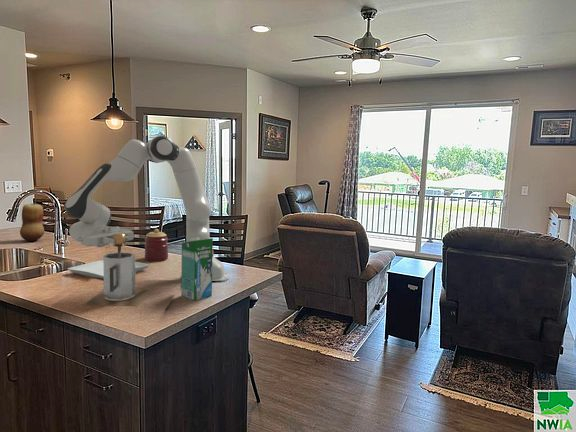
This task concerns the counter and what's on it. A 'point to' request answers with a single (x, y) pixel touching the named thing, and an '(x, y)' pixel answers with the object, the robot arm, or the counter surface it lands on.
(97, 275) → the square plate
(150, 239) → the canister
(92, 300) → the brown flat square board
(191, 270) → the milk carton
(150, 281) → the counter surface
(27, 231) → the butternut squash
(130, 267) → the press jug
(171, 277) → the counter surface
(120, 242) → the plunger
